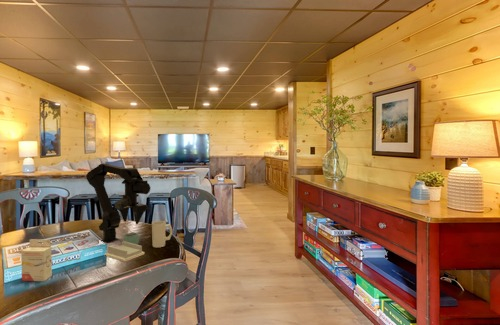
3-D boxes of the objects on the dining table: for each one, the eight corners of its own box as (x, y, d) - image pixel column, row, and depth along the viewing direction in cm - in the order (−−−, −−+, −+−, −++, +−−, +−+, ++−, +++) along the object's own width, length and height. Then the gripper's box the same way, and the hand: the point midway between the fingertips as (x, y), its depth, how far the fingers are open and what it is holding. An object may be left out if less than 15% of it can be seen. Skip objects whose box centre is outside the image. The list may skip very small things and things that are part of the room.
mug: (151, 248, 152) (151, 224, 152) (152, 244, 159) (152, 221, 158) (172, 247, 155) (172, 223, 154) (172, 242, 161) (172, 220, 161)
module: (128, 246, 155) (128, 235, 154) (123, 245, 157) (123, 234, 156) (138, 243, 160) (138, 232, 160) (133, 242, 162) (133, 231, 162)
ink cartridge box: (21, 281, 114) (19, 242, 113) (30, 275, 119) (29, 238, 118) (44, 281, 114) (43, 242, 114) (52, 275, 119) (51, 238, 118)
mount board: (104, 255, 141) (104, 246, 141) (124, 248, 151) (124, 240, 151) (124, 261, 134) (124, 252, 134) (144, 254, 144) (144, 245, 144)
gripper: (105, 192, 155) (105, 223, 155) (129, 196, 145) (129, 229, 146) (124, 190, 164) (124, 219, 165) (148, 193, 155) (148, 224, 156)
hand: (130, 222), depth 158 cm, fingers open, 9 cm apart
